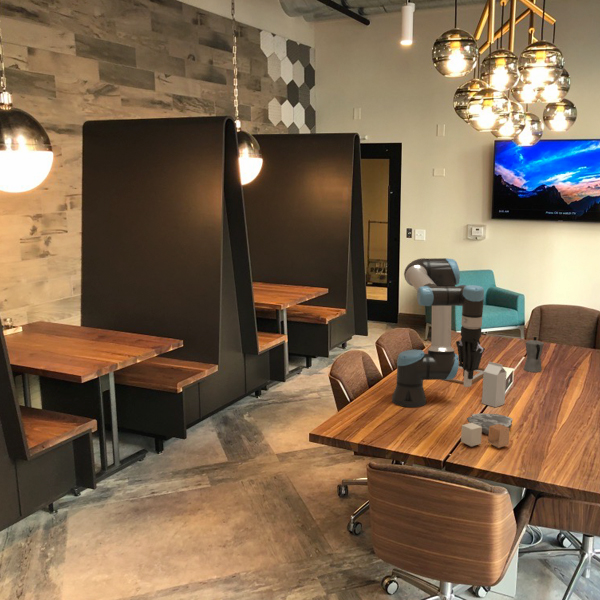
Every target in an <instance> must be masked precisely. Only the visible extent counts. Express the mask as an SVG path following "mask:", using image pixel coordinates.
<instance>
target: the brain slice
mask: <svg viewBox="0 0 600 600" xmlns="http://www.w3.org/2000/svg"><path fill="white" fill-rule="evenodd" d="M466 420H467V422H468V423H474V424H476V425H479V426H481V427H482V433H483V434H484V435H488V436H489V426H492V425H496V424H501V425H503V426H506V427H508V428H510V429H511V427H512V423H513V420H514V418H512V417H509V416H507V415H502V414H499V413H485V412H484V413H473V414H471V415H470V416H468V417H467V418H466Z"/></svg>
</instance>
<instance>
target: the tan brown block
mask: <svg viewBox="0 0 600 600" xmlns="http://www.w3.org/2000/svg"><path fill="white" fill-rule="evenodd" d="M510 430H511V427H510V428H508V427H506V426H503V425H501V424H496V425H492V426H489V435H488V440H487V441H488V442H487V443H488V444H490V445H492V446H493V447H495V448H497V449H500V448H504V447H505V446H509V442H510Z"/></svg>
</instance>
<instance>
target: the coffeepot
mask: <svg viewBox="0 0 600 600" xmlns="http://www.w3.org/2000/svg"><path fill="white" fill-rule="evenodd" d="M537 339H538V337H537V336H534V337H533V339H530V340H526V341H525V350H526V351H525V353H526V358H525V362H524V367H523V370H524V371H525V372H528V373H541V372H542V371H543V369H542V368H543V367H542V359H541V356H542V353H543V348H544V344H545V343H544V342H542V341H540V340H537Z"/></svg>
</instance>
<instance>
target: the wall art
mask: <svg viewBox="0 0 600 600" xmlns="http://www.w3.org/2000/svg"><path fill="white" fill-rule="evenodd" d="M458 369H462V370H463V367H460V365H459V366H458ZM485 369H486V367H485V368H483V367H479V368H478V370H475V371H474V372H478V373H476V374H473V379H472V385H474V384H475V383H477V382H478V381H480V380H482V379H483V375H484V370H485ZM442 381H444V382H449V383H454V384H459V385H462V386H464V380H459V379H454V378H453V379H450V380H442Z"/></svg>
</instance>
